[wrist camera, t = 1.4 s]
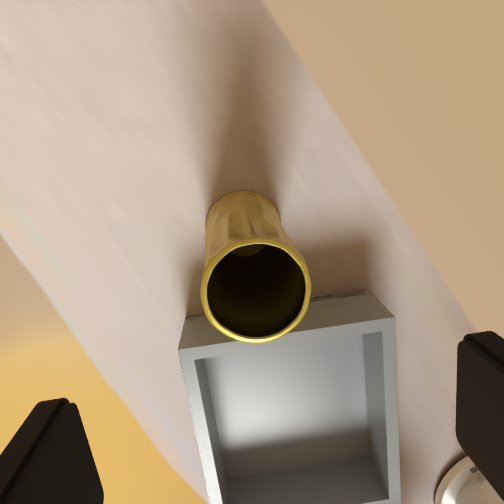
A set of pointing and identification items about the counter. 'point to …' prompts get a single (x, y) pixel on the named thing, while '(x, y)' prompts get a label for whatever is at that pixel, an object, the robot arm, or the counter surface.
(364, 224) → the counter surface
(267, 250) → the vase
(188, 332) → the box
